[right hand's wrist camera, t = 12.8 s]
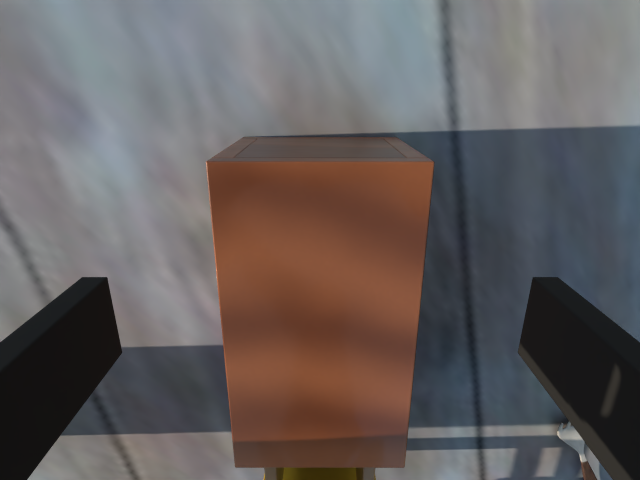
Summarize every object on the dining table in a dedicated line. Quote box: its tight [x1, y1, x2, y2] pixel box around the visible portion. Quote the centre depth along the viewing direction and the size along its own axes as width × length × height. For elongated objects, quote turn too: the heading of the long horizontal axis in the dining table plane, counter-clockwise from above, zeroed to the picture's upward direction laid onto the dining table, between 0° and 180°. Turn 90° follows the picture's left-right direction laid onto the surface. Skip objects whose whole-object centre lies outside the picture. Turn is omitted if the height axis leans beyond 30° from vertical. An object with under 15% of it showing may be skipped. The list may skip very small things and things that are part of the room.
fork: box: [557, 422, 597, 480], centre depth 37 cm, size 3×16×2 cm, turn 26°
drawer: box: [264, 468, 376, 480], centre depth 31 cm, size 23×9×8 cm, turn 0°
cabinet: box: [206, 137, 434, 468], centre depth 26 cm, size 19×10×10 cm, turn 0°
